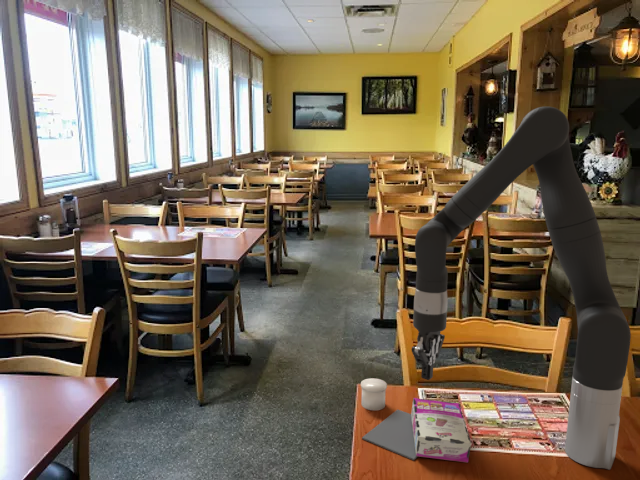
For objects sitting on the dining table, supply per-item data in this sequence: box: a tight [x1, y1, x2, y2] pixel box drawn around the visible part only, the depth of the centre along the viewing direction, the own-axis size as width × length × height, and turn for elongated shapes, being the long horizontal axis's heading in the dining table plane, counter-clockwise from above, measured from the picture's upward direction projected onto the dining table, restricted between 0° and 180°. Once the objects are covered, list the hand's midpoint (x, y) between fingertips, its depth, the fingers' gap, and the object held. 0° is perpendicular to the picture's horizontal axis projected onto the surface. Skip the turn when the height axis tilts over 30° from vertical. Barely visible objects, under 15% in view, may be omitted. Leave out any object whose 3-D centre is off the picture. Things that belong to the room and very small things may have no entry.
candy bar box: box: [410, 397, 472, 463], centre depth 116 cm, size 11×5×16 cm
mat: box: [361, 409, 419, 461], centre depth 119 cm, size 13×16×1 cm
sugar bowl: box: [360, 377, 388, 411], centre depth 132 cm, size 7×7×6 cm
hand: (427, 378), depth 123 cm, fingers closed
